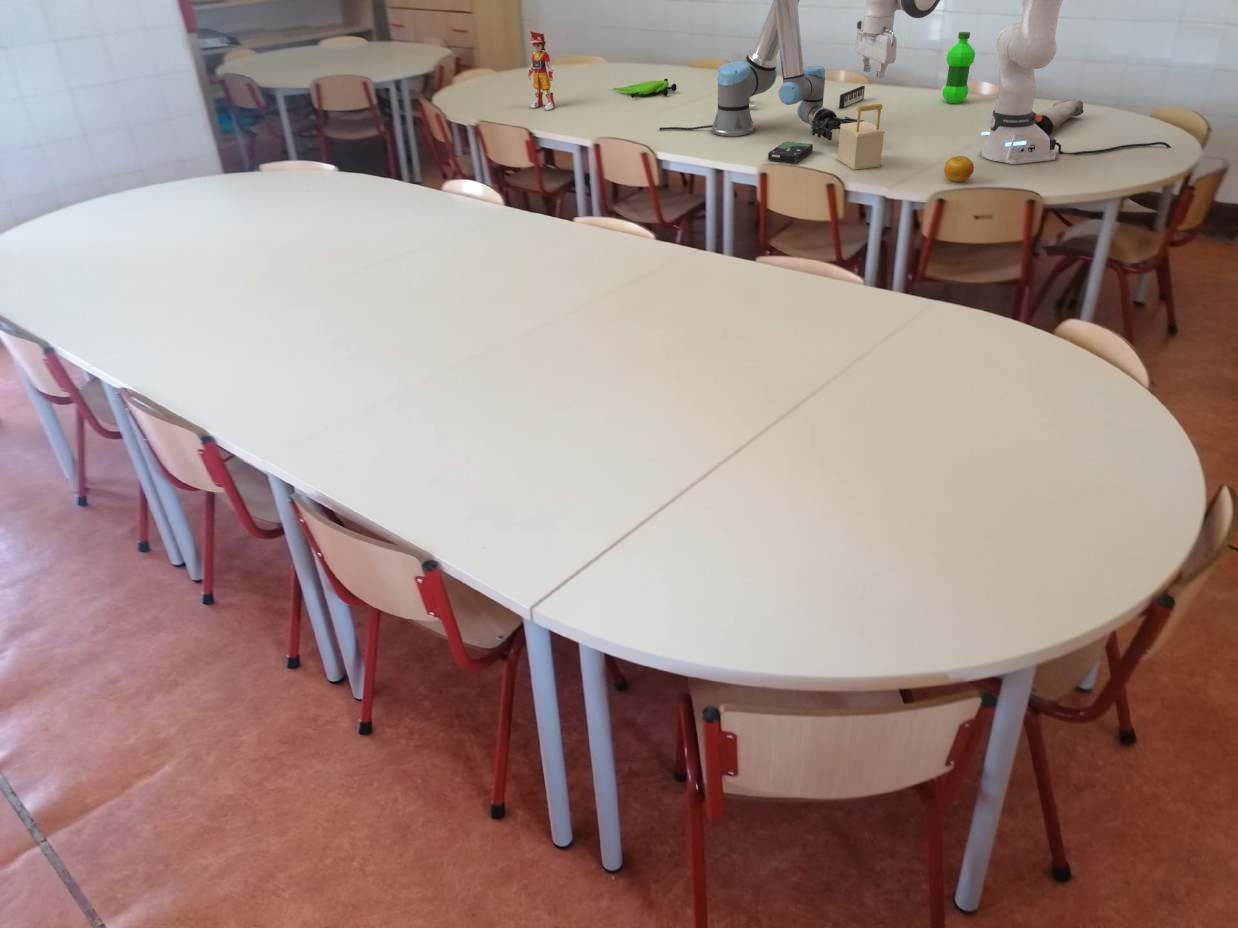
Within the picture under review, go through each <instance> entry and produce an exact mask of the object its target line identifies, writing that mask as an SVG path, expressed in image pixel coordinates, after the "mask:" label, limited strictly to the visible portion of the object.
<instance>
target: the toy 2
mask: <svg viewBox="0 0 1238 928" xmlns="http://www.w3.org/2000/svg"><path fill="white" fill-rule="evenodd" d="M669 85H670V83H669V79H668V78H664V79H663V80H649V81H644V82H640V83H634V84H629V85H627V86H621V87H613V88H612V89H613V90H616V91H619V92H623V93H627V94H628V93H629V94H631V95H630V96H631V98H632V99H634V98H636V96H637V95H650V94H652V93H654V94H658V93H662V95H663V96H665V97H667V96H668V95H669V90H671V91H672V92H676V91H677V84H676V83H672V84H671V86H669Z"/></svg>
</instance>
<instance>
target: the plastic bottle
mask: <svg viewBox="0 0 1238 928" xmlns="http://www.w3.org/2000/svg"><path fill="white" fill-rule="evenodd" d="M970 36H971V32H970V31H959V32H958V36H957V39H958V42H957V43H956V44H954V45H953V46H952V47H951V48H950V49H949V50H948V52H947V54H946V63H947V64H948V69H947V70H948V71H947V76H946V77H947V78H946V84H945V85H944V87H943V90H942V97H943V99H944V100H945V101H946V102H947V103H948V104H960V103H961V102H963V101H964V100H966V98H967V96H968V95H969V85H968V79H969V73H970V67H971V65H972V64H973V63H974V61H975V57H976V51H975V49H974V47H972V45H971V44H970V43H969V42H968V41H969V39H970V38H971V37H970Z"/></svg>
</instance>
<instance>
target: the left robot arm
mask: <svg viewBox="0 0 1238 928" xmlns="http://www.w3.org/2000/svg"><path fill="white" fill-rule="evenodd" d="M800 1H801V0H773V1H772V3H771V5H770V8H769V11H768V12H767V15H766V18H765V20H764V22H763V24H762V27H761V31H760V33H759V35H758V37H757V40H756V43H755V45H754V48H753V49H751V50H749V51H748V52H747V54H746V57H745V59H744V60H736V61H732V62H726V63H724V64H722V65H721V66H720V67H719V68H718V70H717V71H718V73H717V74H718V75H717V111H716V114H715V118H714V120H713V124H710V125H700V126H695V127H694V126H693V127H683V126H682V127H681V126H678V127H677V126H668V127H659V130H660V131H664V130H665V131H666V130H681V131H693V130H700V129H709V128H712V133H713V134H715V135H717V136H721V137H741V136H746V135H750V134H752V133H754V127H755V126H754V125H755V123H754V120H753V118H752V115H751V111H750V108H749V103H750V102H749V97H751V96H752V97H754V96H757V95H760V94H763V93H765V92H766V91H768V90H769V89H771V88H772V87H773V86H774V84H775V82H776V80H777V76H778V71H777V65H778V60H777V59H776V58H777V55H778V53H779V58H780V67H781V75H782V83H783V84H781V85H780V87H779V90H778V98H779V100H780V101H781V103H782V104H784V105H788V106H791V105H795V104H799V105H798V106H797V110H796V112H797V116H798V118H799V119H800V120H801V121H802V122H803V123H806V124H808V125H810V129H811V136H817V138H819V139H820V138H822V137H823V138H824V139H826V140H828V141H832V140H833V130H840V124H846V123H854V122H857V118H851V117H848V116H844V117H843V118H842V117H838V116H837V113H835V111H833V110H831V109H830V108H828V107H825V106H824V96H825V84H826V69H825V67H823V66H821V65H810V66H806V67H805V66H804V57H803V56H804V55H803V47H802V38H801V37H802V36H801V27H800V26H801V24H800V15H799V7H798V5H799V3H800ZM752 97H751V98H752ZM863 121H865V120H864V119H860V122H863Z"/></svg>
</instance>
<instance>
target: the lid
mask: <svg viewBox="0 0 1238 928" xmlns="http://www.w3.org/2000/svg"><path fill="white" fill-rule="evenodd" d="M882 110H883V103H875V104H867V105H858V106H857V107H856V111H857V117H856V119H857V122H854V123H846V124H842V123H841V124H840V127H842V128H843V129H845V130H847V131H849V132H850V133H852V134H854V135H856V136H857V137H861V136H870V135H878V134H884V135H885V134H886V131H885V130H884V129H882V128H880V122H881V112H882ZM870 111H877V114H876V115H877V116H876V123H875V124H876V125H875V124H873V123H871V122H869V121H867V120H864V121H863V122H860V120H861V113H862V112H870Z"/></svg>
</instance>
